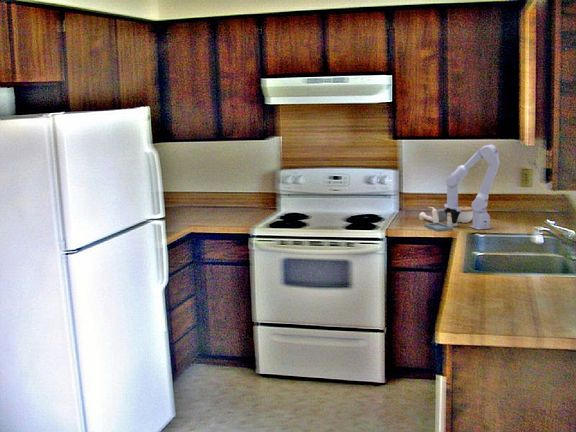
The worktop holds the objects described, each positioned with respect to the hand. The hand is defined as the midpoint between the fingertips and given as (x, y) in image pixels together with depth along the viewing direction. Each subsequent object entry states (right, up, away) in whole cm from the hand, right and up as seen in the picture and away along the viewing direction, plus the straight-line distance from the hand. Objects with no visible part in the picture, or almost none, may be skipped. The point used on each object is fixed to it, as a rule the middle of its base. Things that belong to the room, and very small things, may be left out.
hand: (452, 222), depth 406 cm
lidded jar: (+9, 0, +10) cm, 13 cm away
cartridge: (0, -2, 0) cm, 2 cm away
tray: (-9, -3, -5) cm, 11 cm away
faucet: (-10, 0, +15) cm, 18 cm away
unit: (-2, +1, +16) cm, 16 cm away
